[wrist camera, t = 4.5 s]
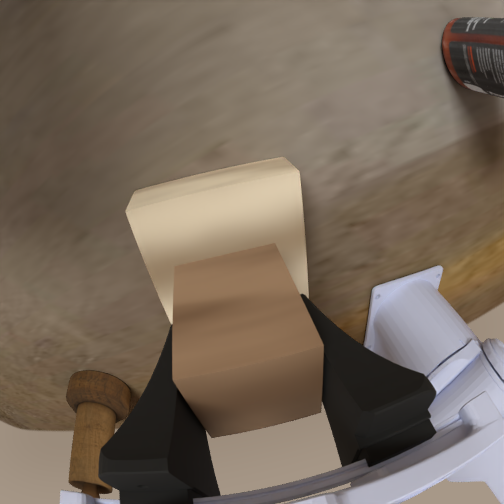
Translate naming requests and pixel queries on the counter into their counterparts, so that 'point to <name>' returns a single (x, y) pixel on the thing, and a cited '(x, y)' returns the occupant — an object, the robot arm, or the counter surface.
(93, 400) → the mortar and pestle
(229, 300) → the walnut block
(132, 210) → the birch base block
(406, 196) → the counter surface
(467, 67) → the supplement bottle
